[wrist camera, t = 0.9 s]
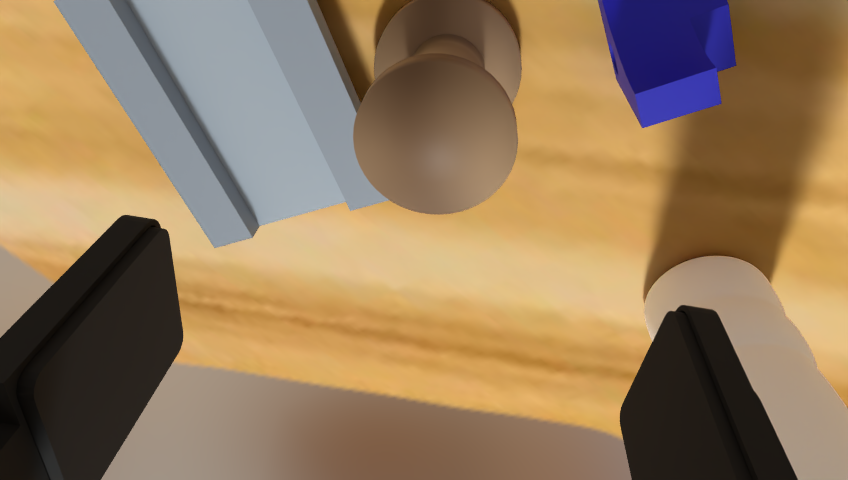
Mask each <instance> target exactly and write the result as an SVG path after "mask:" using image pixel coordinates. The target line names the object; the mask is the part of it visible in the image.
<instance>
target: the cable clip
mask: <svg viewBox="0 0 848 480" xmlns="http://www.w3.org/2000/svg"><path fill="white" fill-rule="evenodd" d="M598 3H599V7H600V11H601V16H602V20H603V24H604V28H605V33H606V37H607V41H608V45H609V50H610V54H611V58H612V62H613V67H614V71H615V75H616V79H617V81H618V83H619V85H620V87H621V89H622V91H623V93H624V95H625V96H626V98H627V100H628V102H629V104H630V106H631V108H632V110H633V111H634V113H635V115H636V117H637V119H638V121H639V123H640V125H641V127H642V128H644V127H648V126H651V125H654V124H657V123H661V122H664V121H667V120H670V119H673V118H677V117H680V116H683V115H686V114H690V113H693V112H696V111H699V110H702V109H706V108H709V107H712V106H715V105H719V104H722V103H721V96H720V89H719V82H718V75H717V72H718V71H721V70H724V69H728V68H731V67H734V66H736V60H735V52H734V44H733V36H732V28H731V20H730V12H729V4H728V2H727V0H598Z"/></svg>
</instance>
